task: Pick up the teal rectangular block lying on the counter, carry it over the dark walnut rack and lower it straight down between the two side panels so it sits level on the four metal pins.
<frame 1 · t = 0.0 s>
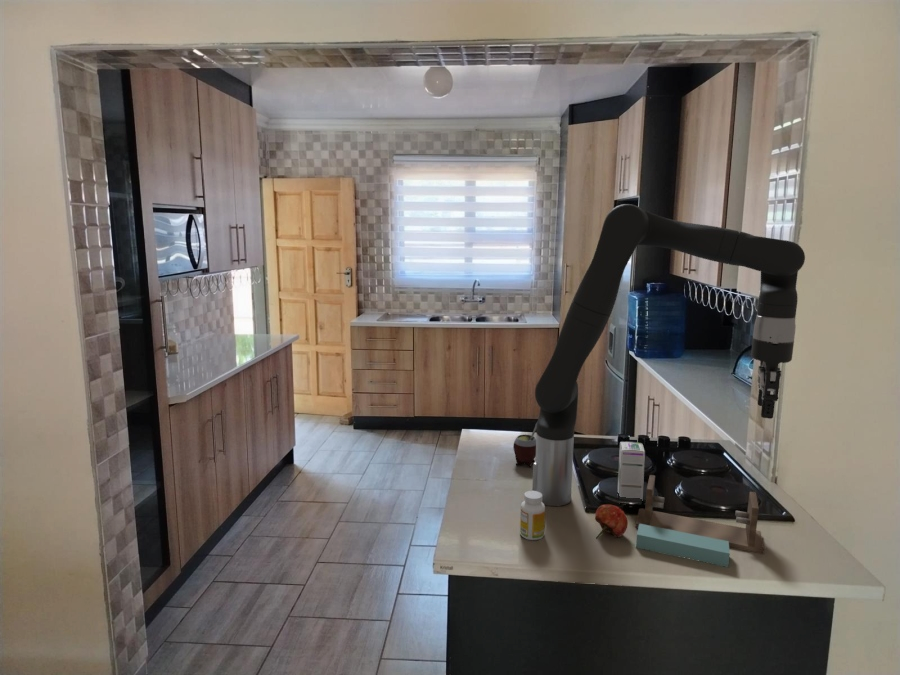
hand: (764, 411, 122), 29 cm above the counter, tool pointing down, fingers open, 8 cm apart
red mushroom: (609, 535, 128), on the counter
teal rectangular block: (680, 552, 122), on the counter
supplement bottle: (532, 535, 128), on the counter
rack: (697, 531, 130), on the counter
mate gourd: (526, 464, 166), on the counter
syrup box: (629, 500, 144), on the counter
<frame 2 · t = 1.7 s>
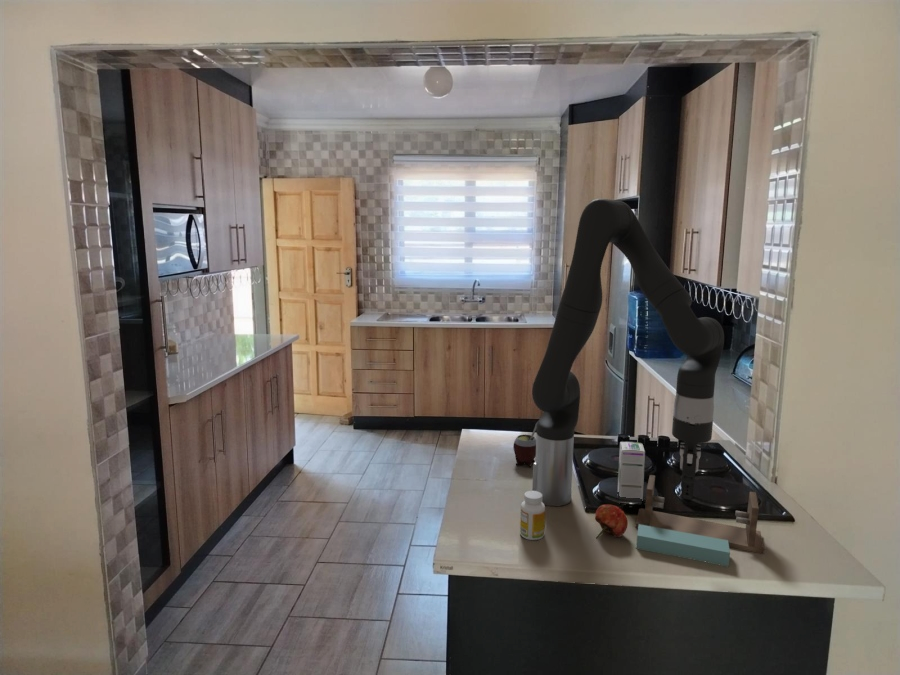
hand: (687, 489, 119), 14 cm above the counter, tool pointing down, fingers open, 8 cm apart
nothing on the counter moved.
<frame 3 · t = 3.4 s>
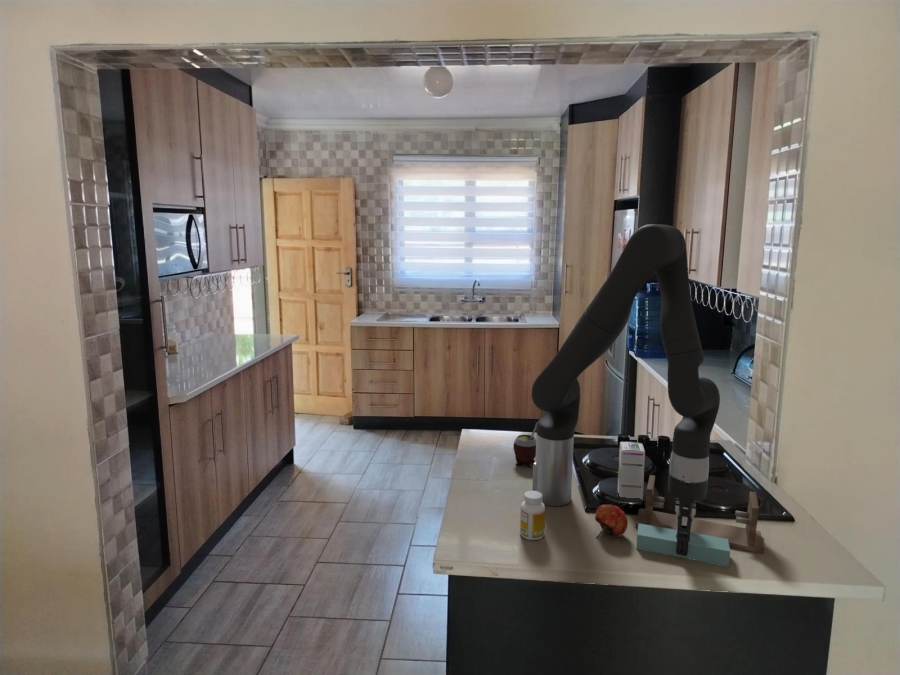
hand: (682, 547, 121), 1 cm above the counter, tool pointing down, fingers closed on teal rectangular block, 5 cm apart
teal rectangular block: (681, 551, 122), on the counter, touching gripper
everything else where it was.
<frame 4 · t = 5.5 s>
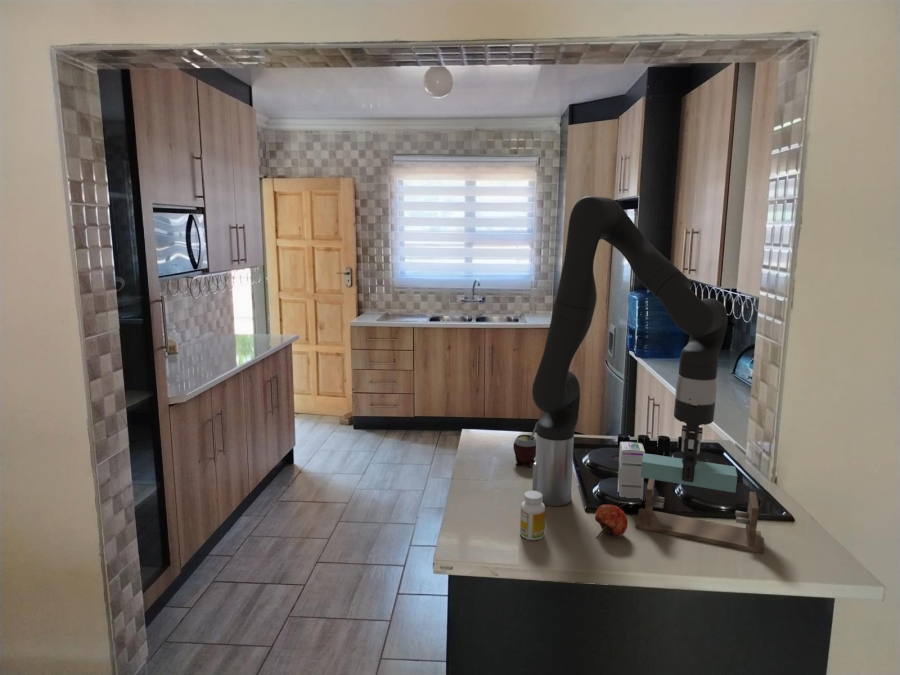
hand: (687, 475, 119), 17 cm above the counter, tool pointing down, fingers closed on teal rectangular block, 5 cm apart
teal rectangular block: (686, 479, 119), point 16 cm above the counter, touching gripper
everything else where it was.
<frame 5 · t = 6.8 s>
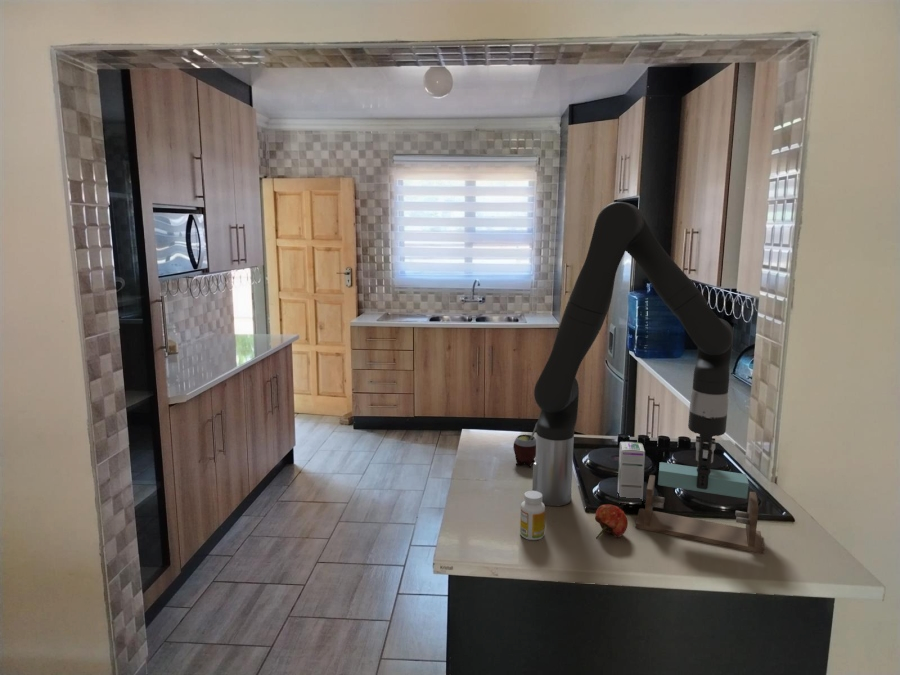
hand: (701, 482, 127), 12 cm above the counter, tool pointing down, fingers closed on teal rectangular block, 5 cm apart
teal rectangular block: (700, 486, 127), point 11 cm above the counter, touching gripper
everything else where it was.
when the fingers open (8 cm above the counter, at t = 8.0 s): teal rectangular block drops 1 cm, resting on rack.
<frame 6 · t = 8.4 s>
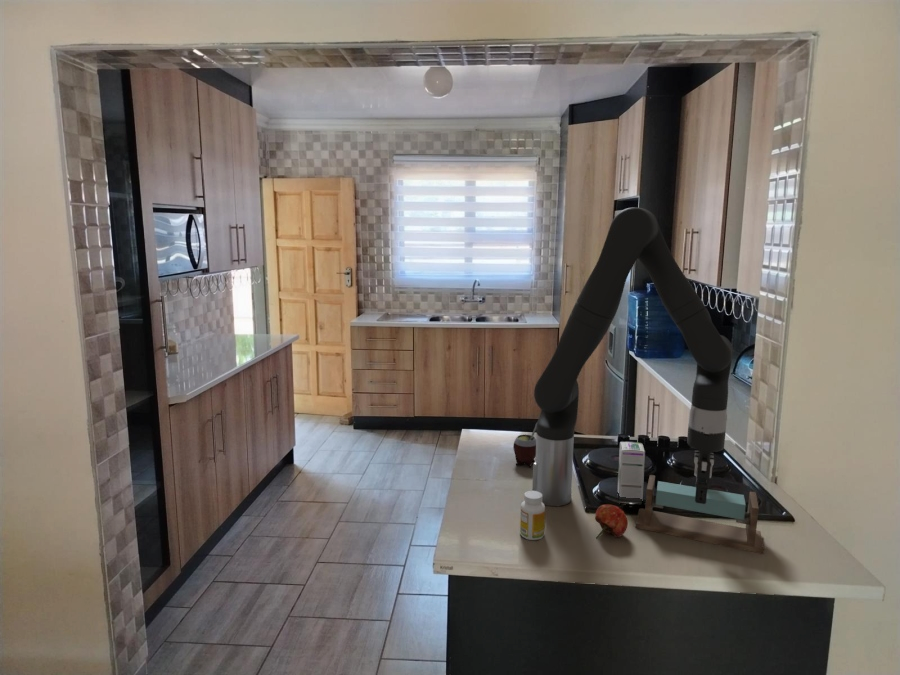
hand: (700, 494, 128), 9 cm above the counter, tool pointing down, fingers open, 8 cm apart
teal rectangular block: (698, 506, 128), point 6 cm above the counter, touching rack
everything else where it was.
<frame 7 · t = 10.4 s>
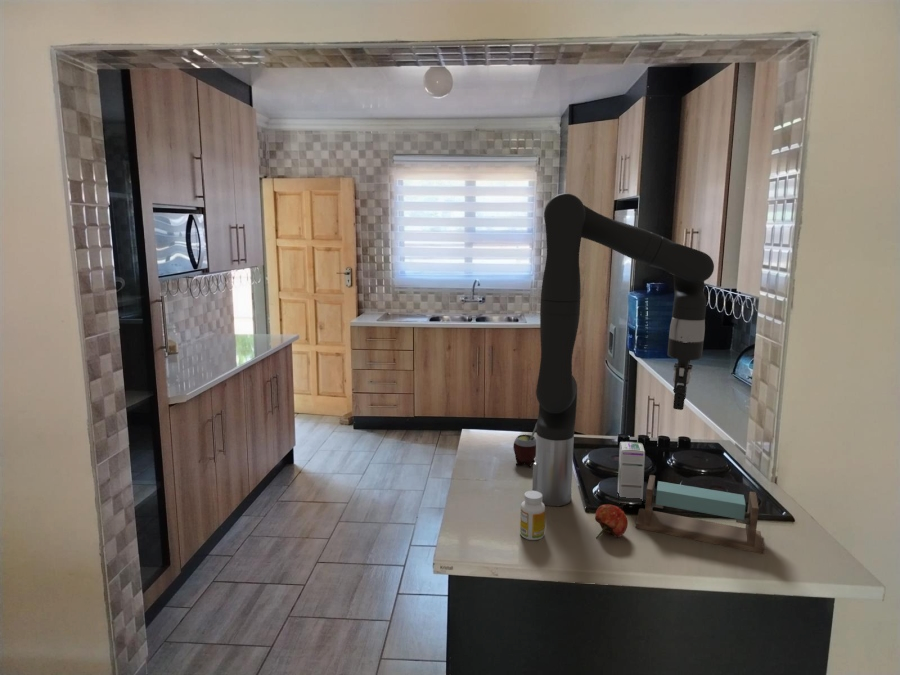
hand: (679, 403, 135), 27 cm above the counter, tool pointing down, fingers open, 8 cm apart
nothing on the counter moved.
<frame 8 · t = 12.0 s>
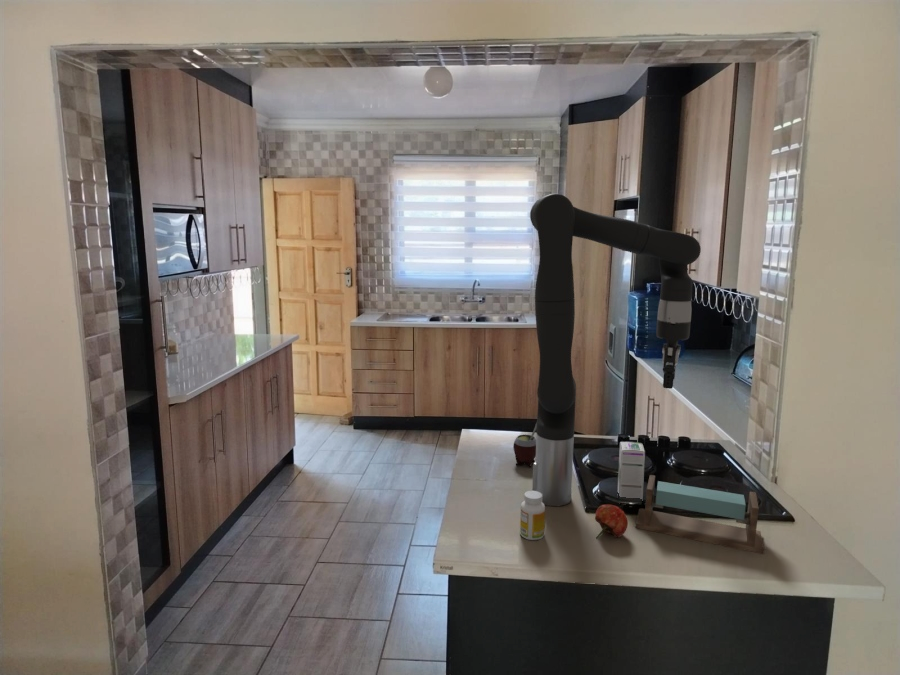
hand: (668, 383, 140), 30 cm above the counter, tool pointing down, fingers open, 8 cm apart
nothing on the counter moved.
at the end: teal rectangular block 0.2 cm off-centre on the rack, point 6.0 cm above the rack's base; teal rectangular block tilted 0°; the gripper is holding nothing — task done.
